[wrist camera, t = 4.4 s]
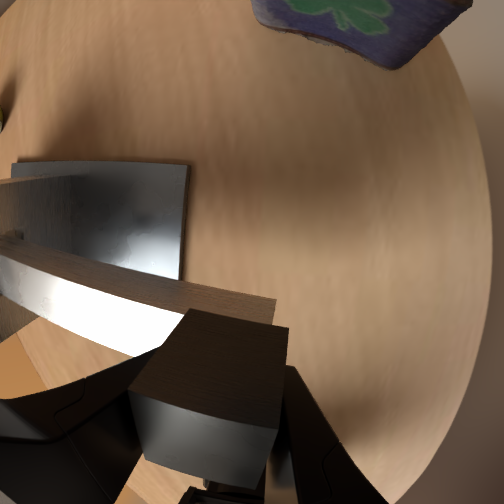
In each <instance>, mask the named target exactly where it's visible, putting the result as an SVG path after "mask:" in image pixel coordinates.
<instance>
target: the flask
mask: <svg viewBox="0 0 504 504" xmlns="http://www.w3.org/2000/svg"><path fill="white" fill-rule="evenodd" d="M251 3H252V7H253V12H254V15H255V17H256V19H257V21H258V22H259V23H260V24H261V25H263V26H266V27H268V28H270V29H272V30H275V31H278V32H279V33H286V32H291V33H294V34H297V35H301V36H302V37H305V38H306V37H307V39H308V40H312V41H314V42H316V43H321V44H323V45H328V46H329V45H332V46H333V45H335V46H337V45H338V46H340V47H342V48H344V50H345V53H346V52H349V53H356V54H358V55H360V56H361V57H362V58H363V59H364V61H369V62H371V63H373V64H374V65H376V66H378V67H380V68H382V69H383V70H386V71H387V70H389V71H391V70H396V69H399V68H401V67H402V66H403V65H404V64H406V63H408V62H409V61H410V60H411V59H412V58H413V57H414V56H415V55H416V54H417V53H418V52H419V51H420V50H421V49H423V48H424V47H426V46H427V44H428V43H429V42H430V41H431V40H432V39H433V38H434V37H435V36H436V35H438V34H439V33H441V32H442V31H443V29H444V28H445V27H447V26H448V25H449V24H451V23H452V22H453V21H454V20H455V19H456V18H457V17H458V16H459V15H460V14H461V13H463V12H464V11H466V10H467V9H468V8H470V7H472V3H473V0H251Z"/></svg>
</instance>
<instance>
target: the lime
mask: <svg viewBox="0 0 504 504" xmlns="http://www.w3.org/2000/svg"><path fill="white" fill-rule="evenodd" d="M2 125H3V111H2V108H1V106H0V132H1V129H2Z"/></svg>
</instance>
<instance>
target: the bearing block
mask: <svg viewBox="0 0 504 504" xmlns="http://www.w3.org/2000/svg"><path fill="white" fill-rule="evenodd" d="M190 169H191V166H190V165H177V164H164V163H147V162H125V161H44V162H24V163H12V167H11V178H8V179H1V180H0V233H2V234H5V235H8V236H11V237H15V238H18V239H21V240H24V241H28V242H31V243H35V244H38V245H42V246H45V247H49V248H52V249H56V250H59V251H63V252H67V253H70V254H74V255H78V256H81V257H85V258H89V259H93V260H97V261H101V262H105V263H109V264H113V265H117V266H121V267H125V268H129V269H133V270H137V271H142V272H146V273H150V274H154V275H159V276H163V277H168V278H172V279H177V280H181V281H182V264H183V247H184V233H185V220H186V208H187V197H188V187H189V178H190ZM39 316H40V315H38V314H36V313H34V312H32V311H30V310H28V309H26V308H25V307H23V306H21V305H19V304H17V303H16V302H14V301H12V300H11V299H9V298H7V297H6V296H4V295H2V294H1V293H0V343H1V342H3V341H4V340H6V339H7V338H9V337H10V336H11V335H13V334H14V333H16V332H17V331H19V330H20V329H22V328H23V327H25V326H26V325H27V324H29V323H30V322H32V321H33V320H35V319H36V318H38V317H39Z"/></svg>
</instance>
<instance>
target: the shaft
mask: <svg viewBox="0 0 504 504" xmlns="http://www.w3.org/2000/svg"><path fill="white" fill-rule="evenodd" d="M0 293H1V294H2V295H4V296H6V297H7V298H9V299H11V300H12V301H14V302H16V303H17V304H19V305H21V306H23V307H25V308H26V309H28V310H30V311H32V312H34V313H36V314H38V315H40V316H41V317H43V318H45V319H47V320H49V321H51V322H53V323H55V324H58V325H60V326H62V327H64V328H66V329H68V330H70V331H72V332H75V333H77V334H79V335H81V336H84V337H86V338H88V339H91V340H93V341H96V342H98V343H100V344H103V345H105V346H108V347H110V348H113V349H116V350H118V351H121V352H124V353H126V354H129V355H132V356H137V355H140V354H142V353H144V352H147V351H149V350H151V349H153V348H156V347H158V346H160V345H161V346H160V347H159V348H158V350H157V351H156V352H155V354H154V355H153V356H152V357H151V359H150V360H149V361H148V363H147V364H146V365H145V367H144V368H143V369H142V370H141V372H140V373H139V374H138V376H137V377H136V378H135V380H134V381H133V382H132V384H131V385H130V386H129V388H128V389H127V390H128V395H129V400H130V404H131V409H132V413H133V417H134V421H135V425H136V429H137V433H138V437H139V440H140V444H141V447H142V451H143V454H144V457H145V460H148V461H150V462H153V463H156V464H158V465H161V466H164V467H167V468H170V469H173V470H176V471H179V472H182V473H185V474H189V475H192V476H195V477H199V478H203V479H207V480H211V481H215V482H219V483H223V484H228V485H233V486H238V487H243V488H248V489H254V490H255V489H256V487H257V484H258V482H259V480H260V477H261V475H262V472H263V470H264V467H265V465H266V462H267V460H268V457H269V454H270V452H271V449H272V447H273V444H274V441H275V438H276V436H277V433H278V430H279V423H280V414H281V406H282V397H283V388H284V378H285V368H286V357H287V346H288V334H289V328H287V327H281V326H275V325H272V322H273V317H274V311H275V306H276V300H277V299H272V298H266V297H261V296H256V295H250V294H245V293H240V292H235V291H230V290H224V289H219V288H215V287H210V286H205V285H200V284H195V283H191V282H186V281H181V280H177V279H172V278H168V277H163V276H159V275H154V274H150V273H146V272H142V271H137V270H133V269H129V268H125V267H121V266H117V265H113V264H109V263H105V262H101V261H97V260H93V259H89V258H85V257H81V256H78V255H74V254H70V253H67V252H63V251H59V250H56V249H52V248H49V247H45V246H42V245H38V244H35V243H31V242H28V241H24V240H21V239H18V238H15V237H11V236H8V235H5V234H2V233H0Z"/></svg>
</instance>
